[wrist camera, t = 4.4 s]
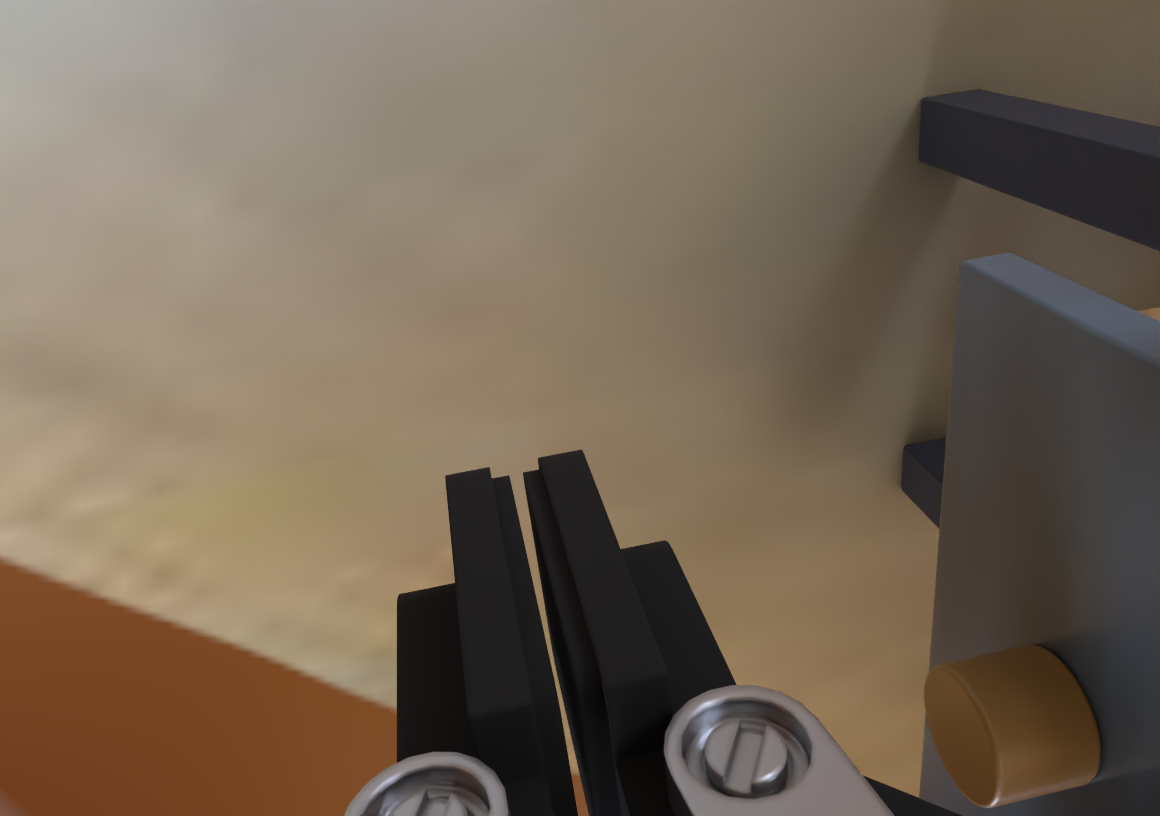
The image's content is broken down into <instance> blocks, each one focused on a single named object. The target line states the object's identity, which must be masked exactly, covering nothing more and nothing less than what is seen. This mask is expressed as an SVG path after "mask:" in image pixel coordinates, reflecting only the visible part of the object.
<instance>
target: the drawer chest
mask: <svg viewBox="0 0 1160 816" xmlns="http://www.w3.org/2000/svg"><path fill="white" fill-rule="evenodd" d="M919 161H920V162H922V163H925V164H928V165H930V166H933V167H936V168H938V169H941V170H944V171H947V172H949V173H952V174H955V175H957V176H960V177H963V178H965V179H968V180H971V181H973V182H976V183H979V184H981V185H984V186H987V187H989V188H992V189H995V190H998V191H1000V192H1003V193H1006V194H1008V195H1011V196H1014V197H1016V198H1019V199H1022V200H1024V201H1027V202H1030V203H1032V204H1035V205H1038V206H1040V207H1043V208H1046V209H1049V210H1051V211H1054V212H1057V213H1059V214H1062V215H1065V216H1067V217H1070V218H1073V219H1075V220H1078V221H1081V222H1083V223H1086V224H1089V225H1092V226H1094V227H1097V228H1100V229H1102V230H1105V231H1108V232H1110V233H1113V234H1116V235H1118V236H1121V237H1124V238H1126V239H1129V240H1132V241H1134V242H1137V243H1140V244H1143V245H1145V246H1148V247H1151V248H1153V249H1156V250H1159V251H1160V127H1157V126H1152V125H1147V124H1142V123H1138V122H1133V121H1128V120H1123V119H1119V118H1114V117H1109V116H1104V115H1099V114H1095V113H1090V112H1085V111H1080V110H1076V109H1071V108H1066V107H1061V106H1057V105H1052V104H1047V103H1042V102H1038V101H1033V100H1028V99H1023V98H1019V97H1014V96H1009V95H1004V94H999V93H995V92H990V91H985V90H980V89H977V90H971V91H965V92H958V93H952V94H945V95H939V96H933V97H926V98H923V99H922V105H921V124H920V143H919ZM945 450H946V438H943V439H938V440H933V441H928V442H923V443H918V444H913V445H908V446H905V447H904V455H903V474H902V491H903V492H904V493H905V494H906V495H907V496H908V497H909V498H910V499H911V500H912V501H913V502H914V503H915V504H916V505H917V506H918V507H919V508H920V509H921V510H922V511H923V512H924V513H925V515H926V516H927V517H928V518H929V519H930V520H931V521H932V522H933V523H934V524H935V525H936V526H937V527H938V528H939V529H940V516H941V503H942V490H943V477H944V463H945Z"/></svg>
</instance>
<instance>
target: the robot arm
mask: <svg viewBox="0 0 1160 816" xmlns="http://www.w3.org/2000/svg"><path fill="white" fill-rule="evenodd" d="M538 464H539V470H535V471H529V472H524V473H523V476H524V483H525V489H526V495H527V501H528V507H529V513H530V519H531V525H532V531H533V537H534V543H535V549H536V555H537V561H538V567H539V573H540V579H541V586H542V592H543V598H544V604H545V610H546V616H547V622H548V628H549V634H550V640H551V645H552V651H553V656H554V661H555V666H556V671H557V676H558V680H559V684H560V689H561V693H562V698H563V702H564V707H565V711H566V715H567V720H568V724H569V729H570V733H571V737H572V742H573V746H574V751H575V755H576V760H577V764H578V768H579V773H580V777H581V782H582V786H583V790H584V795H585V799H586V804H587V808H588V813H589V816H962V815H960V814H957V813H955V812H952V811H950V810H947V809H945V808H942V807H940V806H937V805H935V804H932V803H930V802H927V801H925V800H922V799H920V798H918V797H915V796H913V795H910V794H908V793H905V792H903V791H900V790H898V789H895V788H893V787H890V786H888V785H885V784H883V783H880V782H878V781H875V780H873V779H870V778H868V777H865V776H863V775H862V774H861V773H860V771H859V770H858V769H857V768H856V766H855V765H854V764H853V763H852V761H851V760H850V759H849V758H848V756H847V755H846V754H845V752H844V751H843V750H842V749H841V747H840V746H839V745H838V744H837V742H836V741H835V740H834V739H833V737H832V736H831V735H830V733H829V732H828V731H827V730H826V728H825V727H824V726H823V725H822V723H821V722H820V721H819V720H818V718H817V717H816V716H815V715H813V714H812V713H811V712H810V711H809V710H808V709H807V708H806V707H805V706H804V705H803V704H802V703H800V702H799V701H797V700H795V699H793V698H791V697H789V696H787V695H785V694H783V693H781V692H779V691H775V690H771V689H767V688H763V687H759V686H743V685H736V683H735V680H734V678H733V676H732V674H731V672H730V670H729V668H728V666H727V664H726V661H725V659H724V657H723V655H722V653H721V651H720V649H719V647H718V645H717V642H716V640H715V638H714V636H713V634H712V632H711V630H710V628H709V626H708V623H707V621H706V619H705V617H704V615H703V613H702V611H701V609H700V607H699V604H698V602H697V600H696V598H695V596H694V594H693V592H692V590H691V587H690V585H689V583H688V581H687V579H686V577H685V575H684V573H683V571H682V568H681V566H680V564H679V562H678V560H677V558H676V556H675V554H674V552H673V550H672V548H671V546H670V544H669V543H668V542H667V541H665V540H664V541H659V542H654V543H649V544H644V545H639V546H634V547H630V548H625V549H620V547H619V544H618V541H617V539H616V536H615V534H614V531H613V528H612V526H611V523H610V521H609V518H608V515H607V513H606V510H605V508H604V505H603V502H602V500H601V497H600V495H599V492H598V489H597V487H596V484H595V482H594V479H593V476H592V474H591V471H590V468H589V466H588V463H587V461H586V458H585V455H584V453H583V451H582V450H577V451H572V452H567V453H561V454H556V455H551V456H546V457H540V458H538ZM445 479H446V490H447V501H448V511H449V522H450V532H451V543H452V554H453V564H454V575H455V583H452V584H447V585H443V586H438V587H433V588H428V589H423V590H418V591H413V592H408V593H403V594H399V596H398V599H397V763H396V764H394V765H392V766H390V767H388V768H386V769H384V770H383V771H382V772H380V773H379V774H378V775H377V776H376V777H374V778H373V779H372V780H370V781H369V782H368V783H367V784H365V785H364V786H363V788H362V789H361V790H360V791H359V793H358V794H357V795H356V797H355V798H354V799H353V800H352V802H351V803H350V804H349V806H348V808H347V811H346V813H345V816H578V813H577V807H576V801H575V795H574V789H573V783H572V777H571V771H570V765H569V759H568V753H567V747H566V741H565V735H564V729H563V723H562V718H561V712H560V707H559V701H558V696H557V691H556V686H555V681H554V677H553V672H552V667H551V663H550V658H549V654H548V649H547V645H546V640H545V636H544V631H543V627H542V622H541V617H540V613H539V608H538V604H537V599H536V595H535V590H534V586H533V581H532V577H531V572H530V568H529V563H528V559H527V554H526V549H525V545H524V540H523V536H522V531H521V527H520V522H519V518H518V513H517V509H516V504H515V500H514V495H513V490H512V486H511V481H510V477H509V476H503V477H498V478H493V479H492V478H491V473H490V467H488V468H482V469H477V470H472V471H467V472H461V473H456V474H451V475H446V476H445Z"/></svg>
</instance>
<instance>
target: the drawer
mask: <svg viewBox="0 0 1160 816" xmlns="http://www.w3.org/2000/svg"><path fill="white" fill-rule="evenodd" d="M924 700H925V709H926V714H925V727H924V740H923V753H922V766H921V779H920V793H919V798H920V799H922V800H925V801H927V802H930V803H932V804H935V805H937V806H940V807H942V808H945V809H947V810H950V811H952V812H955V813H957V814H960V815H962V816H1160V307H1157V308H1151V309H1146V310H1141V311H1136V310H1134V309H1132V308H1130V307H1128V306H1126V305H1123V304H1121V303H1119V302H1117V301H1115V300H1113V299H1110V298H1108V297H1106V296H1104V295H1102V294H1100V293H1098V292H1095V291H1093V290H1091V289H1089V288H1087V287H1085V286H1083V285H1080V284H1078V283H1076V282H1074V281H1072V280H1070V279H1067V278H1065V277H1063V276H1061V275H1059V274H1057V273H1055V272H1052V271H1050V270H1048V269H1046V268H1044V267H1042V266H1040V265H1037V264H1035V263H1033V262H1031V261H1029V260H1027V259H1024V258H1022V257H1020V256H1018V255H1016V254H1014V253H1010V252H1008V253H1003V254H997V255H991V256H986V257H980V258H975V259H969V260H964V261H962V262H961V264H960V266H959V279H958V292H957V306H956V319H955V332H954V345H953V358H952V371H951V384H950V398H949V411H948V424H947V437H946V450H945V463H944V477H943V490H942V503H941V516H940V529H939V542H938V556H937V569H936V582H935V595H934V608H933V621H932V635H931V648H930V661H929V673H928V675H927V677H926V681H925V687H924Z"/></svg>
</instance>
